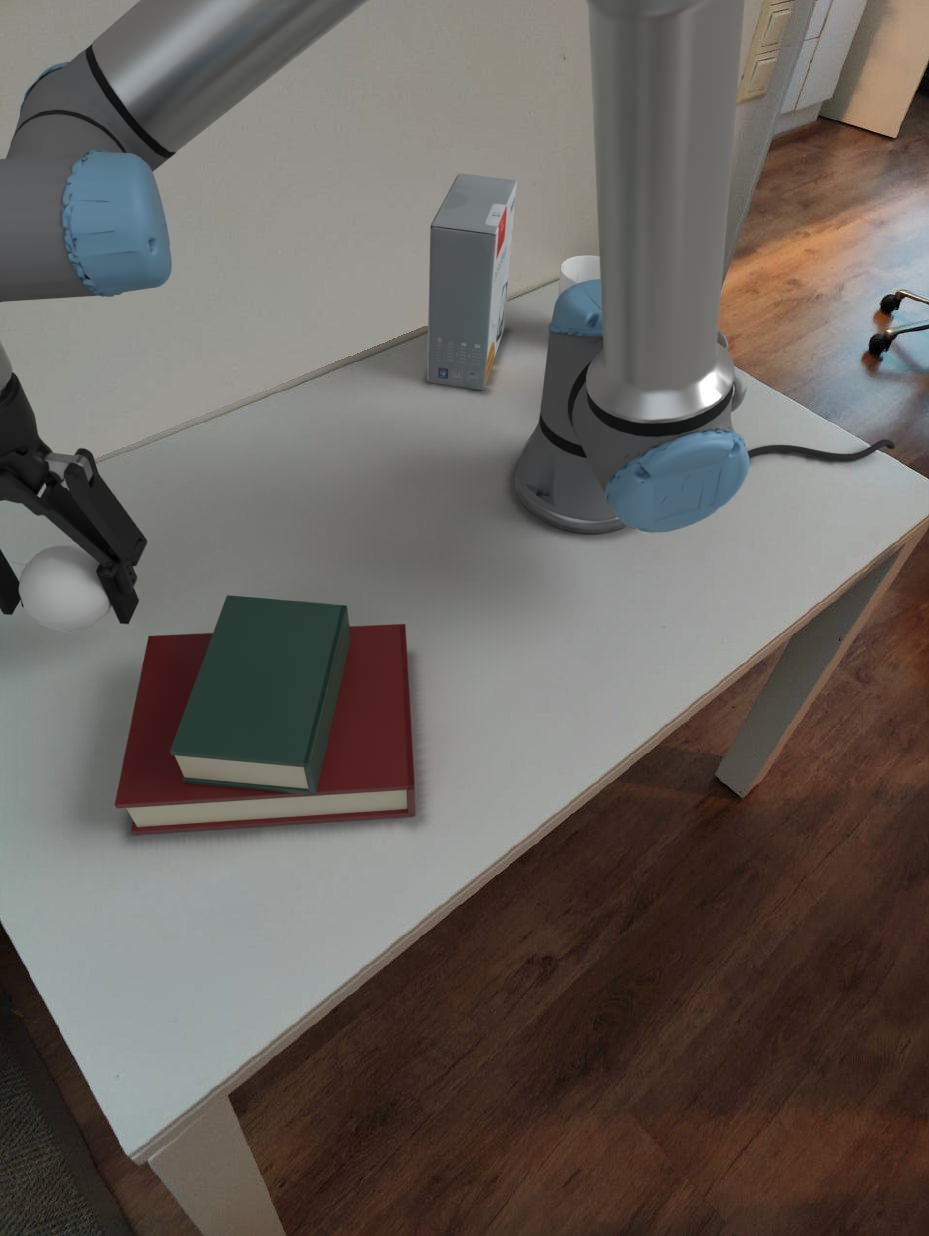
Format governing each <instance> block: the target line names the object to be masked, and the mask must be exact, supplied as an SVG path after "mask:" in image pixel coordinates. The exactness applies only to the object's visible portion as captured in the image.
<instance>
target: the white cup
mask: <svg viewBox="0 0 929 1236" xmlns="http://www.w3.org/2000/svg"><path fill="white" fill-rule="evenodd" d="M559 269H560V270H559V279H558V280H559V281H558V291H557V298H558V297H559V295H560V294H561V293H562V292H564V291H565V290H566V289H568V288H570V287H571V286H573V285H575V284H578V283H581V282H585V281H589V280H596V279H600V259H599V255H598V256H597V255H589V254H588V255H587V254H586V255H585V254H584V255H576V256H571V257H568V258H566V259H565V260H563V261H562V263H561V264H560V267H559Z"/></svg>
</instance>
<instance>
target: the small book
mask: <svg viewBox="0 0 929 1236" xmlns="http://www.w3.org/2000/svg"><path fill="white" fill-rule="evenodd" d="M349 619H350V618H349V611H348V605H346V604H337V603H335V604H334V603H325V602H324V603H322V602H310V601H301V600H300V601H299V600H290V599H289V600H288V599H276V598H267V597H266V598H265V597H254V596H242V595H230V594H227V595H226V597H225V599H224V602H223V605H222V608H221V610H220V613H219V616H218V619H217V621H216V624H215V627H214V630H213V632H212V633H213V635H212V638H211V640H210V643H209V646H208V648H207V651H206V654H205V657H204V659H203V662H202V665H201V668H200V670H199V673H198V676H197V679H196V681H195V684H194V687H193V689H192V692H191V695H190V698H189V700H188V703H187V706H186V709H185V711H184V714H183V717H182V719H181V722H180V725H179V728H178V730H177V733H176V736H175V739H174V741H173V744H172V747H171V750H170V753H171V755H175V757H176V760H177V762H178V764H179V766H180V768H181V771H182V773H183V775H184V777H183V782H184V783H190V784H201V785H212V786H223V787H233V788H244V789H255V790H265V791H276V792H287V793H298V794H308V795H316V793H317V789H318V785H319V780H320V776H321V771H322V767H323V762H324V758H325V753H326V749H327V744H328V740H329V735H330V731H331V726H332V722H333V717H334V713H335V708H336V704H337V699H338V695H339V690H340V686H341V681H342V677H343V672H344V668H345V663H346V659H347V655H348V650H349V646H350V641H351V637H350V628H349V627H350V620H349Z"/></svg>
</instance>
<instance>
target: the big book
mask: <svg viewBox="0 0 929 1236" xmlns="http://www.w3.org/2000/svg"><path fill="white" fill-rule="evenodd" d="M349 628H350V637H351V641H350V646H349V650H348V655H347V659H346V663H345V668H344V672H343V677H342V681H341V686H340V690H339V695H338V699H337V704H336V708H335V713H334V717H333V722H332V726H331V731H330V735H329V740H328V744H327V749H326V753H325V758H324V762H323V767H322V771H321V776H320V780H319V785H318V789H317V793H316V795H308V794H298V793H287V792H276V791H265V790H255V789H244V788H233V787H223V786H212V785H201V784H190V783H184V782H183V777H184V775H183V773H182V771H181V768H180V766H179V764H178V762H177V760H176V757H175V755H171V753H170V750H171V747H172V744H173V741H174V739H175V736H176V733H177V730H178V728H179V725H180V722H181V719H182V717H183V714H184V711H185V709H186V706H187V703H188V700H189V698H190V695H191V692H192V689H193V687H194V684H195V681H196V679H197V676H198V673H199V670H200V668H201V665H202V662H203V659H204V657H205V654H206V651H207V648H208V646H209V643H210V640H211V638H212V635H213V632H207V633H206V632H205V633H180V634H161V635H160V634H159V635H148V636H147V642H146V646H145V651H144V656H143V657H144V658H143V661H142V666H141V671H140V676H139V680H138V687H137V692H136V696H135V701H134V706H133V711H132V715H131V721H130V725H129V731H128V735H127V741H126V744H125V745H126V746H125V750H124V756H123V761H122V765H121V766H122V767H121V770H120V775H119V780H118V786H117V790H116V796H115V800H114V807H115V809H117V810H119V809H126V810H127V812H128V815H129V816H130V817H131V819H132V824H131V830H130V833H131V835H132V836H142V835H157V834H170V833H171V834H172V833H186V832H187V833H188V832H200V831H201V832H202V831H216V830H231V829H247V828H260V827H263V828H264V827H276V826H290V825H305V824H320V823H335V822H347V821H349V822H350V821H364V820H365V821H366V820H378V819H379V820H381V819H393V818H394V819H395V818H408V817H410V818H411V817H416V816H417V814H416V810H417V809H416V781H415V780H416V777H415V762H414V746H413V743H414V742H413V729H412V727H413V726H412V712H411V695H410V694H411V693H410V678H409V676H410V675H409V662H408V661H409V659H408V645H407V644H408V643H407V627H406V623H397V624H396V623H395V624H376V625H375V624H373V625H353V626H352V625H351V626H350V625H349Z"/></svg>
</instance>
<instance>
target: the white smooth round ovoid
mask: <svg viewBox="0 0 929 1236" xmlns="http://www.w3.org/2000/svg"><path fill="white" fill-rule="evenodd" d="M9 563H13V564H18V565H21V566H24V567H23V569H22V571H21V574H20V579H19V582H20V584H19V594H20V597H21V600H20V604H21V607H22V608H24V611H26V613H27V614H29V616H30V617H31V618H32V619H33V620H34V621H36V623H38V625H40V626H43V627H45V628H48V629H50V630H53V631H56V632H61V633H62V632H63V633H74V632H79V631H80V632H81V631H84V630H85V629H88V628H91V627H93V626H94V625H96V624H97V623H99V622H101V621H102V620H103V618H105V617H106V616H107V615H108V614H109V613H110V610H111V608H112V605H111V603H110V601H109V599H108V597H107V594H106V592H105V590H104V588H103V586H102V584H101V582H100V579H99V577H98V575H97V573H96V570H97V568H98V566H99V564H100V563H99V562H98V561H96V560H95V559H94V558H93V557H92V556H91V555H89V554H88V553H87V552H86V551H85V550H84V549H82V548H81V547H80V546H79V545H74V544H60V545H52V546H50V547H46V548H44V549H43V550H41V551H39V552H37V553H36V554H35V555H34V556H33V557H32V558H30V559H29V561H28V562H27V563H26V564H23V563H19V562H17V561H12V560H10V561H9Z"/></svg>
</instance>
